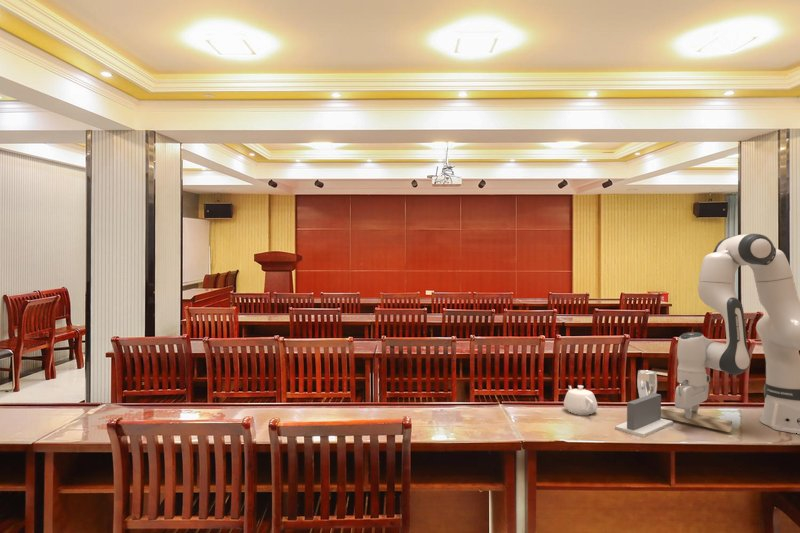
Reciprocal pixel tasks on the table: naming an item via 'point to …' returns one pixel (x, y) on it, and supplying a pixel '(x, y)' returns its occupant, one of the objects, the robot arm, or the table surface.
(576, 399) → the teapot
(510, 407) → the table surface
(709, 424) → the birch bar
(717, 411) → the table surface
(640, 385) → the beer glass
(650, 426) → the stand
